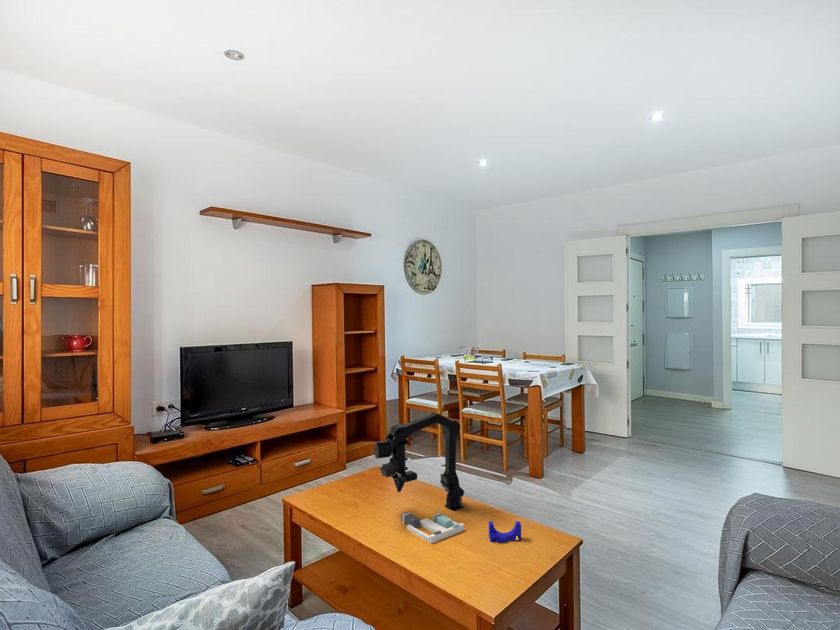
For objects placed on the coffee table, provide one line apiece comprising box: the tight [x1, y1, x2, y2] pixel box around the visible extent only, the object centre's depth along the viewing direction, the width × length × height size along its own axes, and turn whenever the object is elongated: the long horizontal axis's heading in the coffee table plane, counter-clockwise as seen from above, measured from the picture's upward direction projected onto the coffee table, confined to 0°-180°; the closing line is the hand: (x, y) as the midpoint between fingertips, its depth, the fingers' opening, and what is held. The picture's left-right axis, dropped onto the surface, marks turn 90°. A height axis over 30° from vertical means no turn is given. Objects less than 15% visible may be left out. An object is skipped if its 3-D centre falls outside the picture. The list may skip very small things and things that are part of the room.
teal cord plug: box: [432, 512, 453, 529], centre depth 194 cm, size 4×8×4 cm, turn 38°
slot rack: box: [406, 517, 465, 544], centre depth 190 cm, size 17×15×3 cm
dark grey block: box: [400, 511, 421, 529], centre depth 195 cm, size 4×8×4 cm, turn 38°
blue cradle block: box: [488, 521, 522, 543], centre depth 182 cm, size 12×4×6 cm, turn 90°
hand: (399, 491), depth 201 cm, fingers closed
